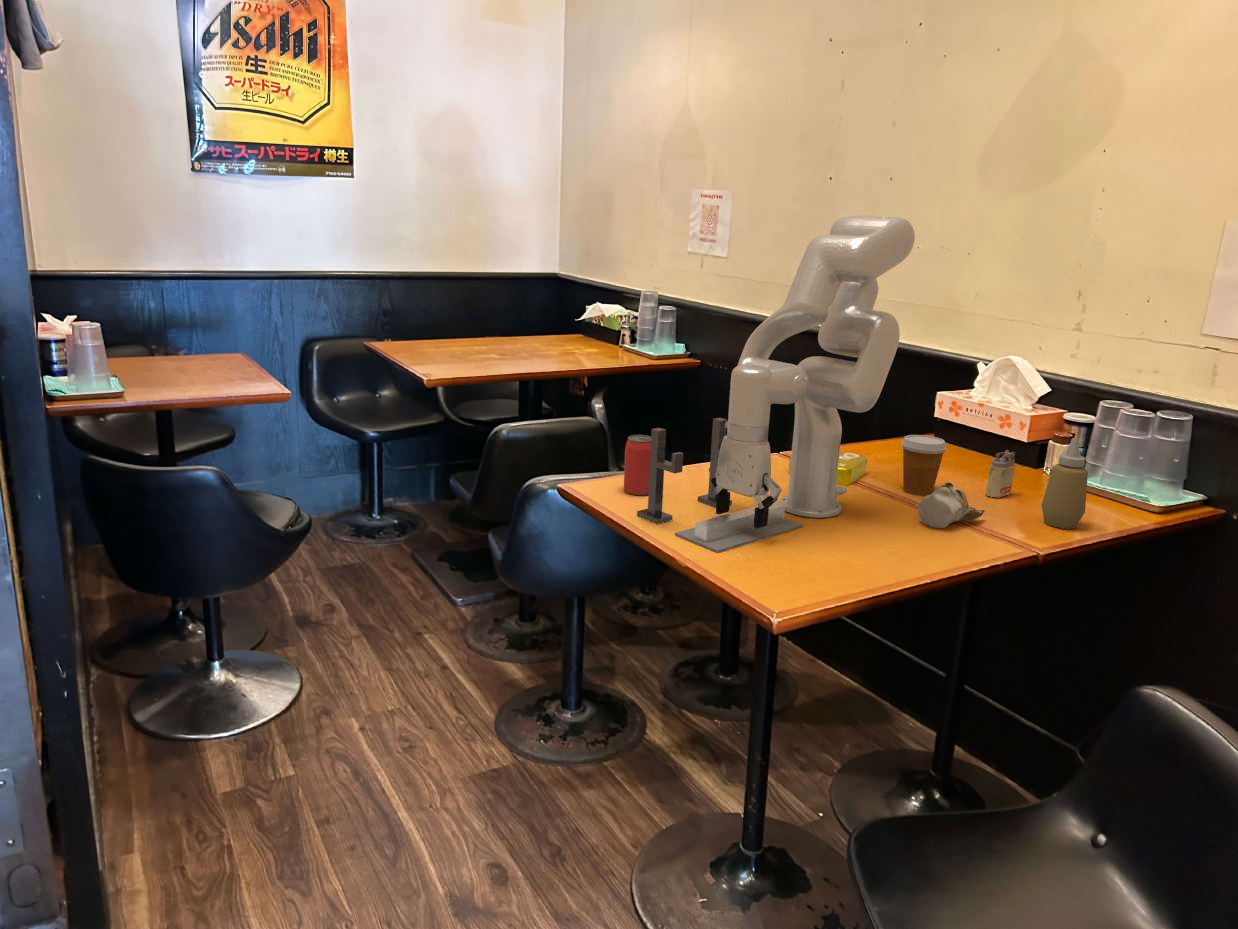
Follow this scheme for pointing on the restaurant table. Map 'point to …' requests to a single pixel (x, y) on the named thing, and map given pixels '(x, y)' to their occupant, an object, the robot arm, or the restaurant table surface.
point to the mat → (741, 536)
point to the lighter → (1001, 475)
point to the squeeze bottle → (1066, 490)
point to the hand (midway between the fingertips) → (740, 519)
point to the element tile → (849, 468)
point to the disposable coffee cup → (921, 463)
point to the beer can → (637, 465)
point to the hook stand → (676, 471)
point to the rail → (734, 523)
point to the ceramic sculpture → (946, 507)
